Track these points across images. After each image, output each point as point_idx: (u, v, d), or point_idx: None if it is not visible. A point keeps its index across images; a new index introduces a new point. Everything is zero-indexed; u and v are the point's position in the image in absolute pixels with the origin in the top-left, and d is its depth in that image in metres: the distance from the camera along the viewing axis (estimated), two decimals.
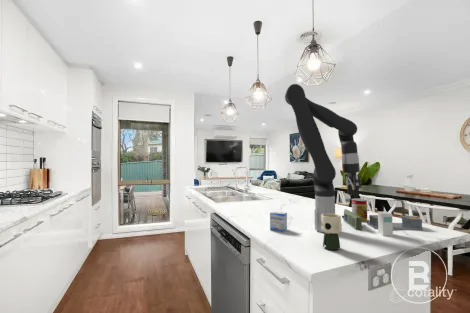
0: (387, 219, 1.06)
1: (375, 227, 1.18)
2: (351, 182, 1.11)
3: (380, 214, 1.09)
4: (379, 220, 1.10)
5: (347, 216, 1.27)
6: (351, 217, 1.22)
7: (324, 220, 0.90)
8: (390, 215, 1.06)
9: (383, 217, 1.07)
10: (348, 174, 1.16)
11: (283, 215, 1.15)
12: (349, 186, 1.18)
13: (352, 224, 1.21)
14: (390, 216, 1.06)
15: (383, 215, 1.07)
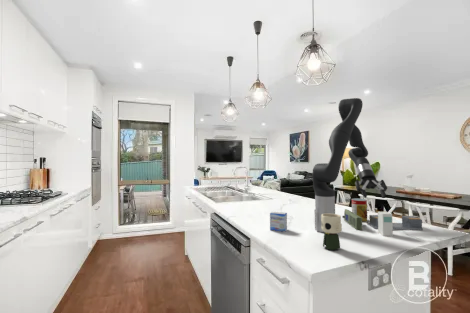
0: (387, 219, 1.06)
1: (375, 227, 1.18)
2: None
3: (380, 214, 1.09)
4: (379, 220, 1.10)
5: (348, 216, 1.27)
6: (351, 217, 1.22)
7: (324, 220, 0.90)
8: (390, 215, 1.06)
9: (383, 217, 1.07)
10: (367, 179, 1.27)
11: (283, 215, 1.15)
12: None
13: (352, 224, 1.21)
14: (390, 215, 1.06)
15: (383, 215, 1.07)
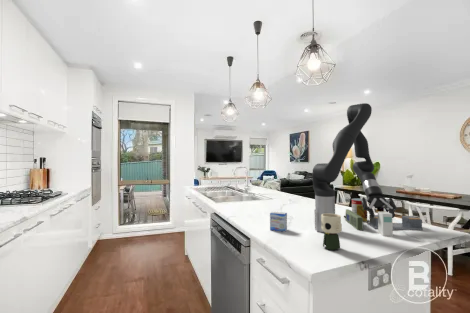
0: (387, 219, 1.06)
1: (375, 227, 1.18)
2: (387, 203, 1.14)
3: (380, 214, 1.09)
4: (379, 220, 1.10)
5: (349, 216, 1.27)
6: (352, 217, 1.22)
7: (324, 220, 0.90)
8: (390, 215, 1.06)
9: (383, 217, 1.07)
10: (374, 197, 1.17)
11: (283, 215, 1.15)
12: None
13: (353, 224, 1.21)
14: (390, 216, 1.06)
15: (383, 215, 1.07)
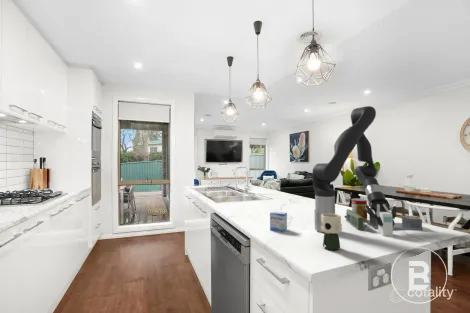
0: (387, 219, 1.06)
1: (375, 227, 1.18)
2: None
3: (380, 214, 1.09)
4: None
5: (350, 216, 1.27)
6: (353, 217, 1.22)
7: (324, 220, 0.90)
8: (390, 215, 1.06)
9: (383, 217, 1.07)
10: (377, 203, 1.14)
11: (283, 215, 1.15)
12: None
13: (354, 224, 1.21)
14: (390, 215, 1.06)
15: (383, 215, 1.07)
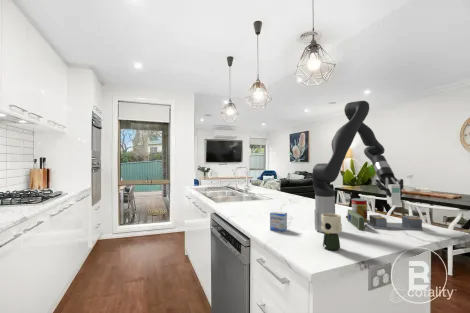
0: (395, 190, 1.17)
1: (375, 227, 1.18)
2: (396, 183, 1.21)
3: (389, 186, 1.20)
4: None
5: (351, 217, 1.27)
6: (354, 217, 1.22)
7: (324, 220, 0.90)
8: (398, 186, 1.17)
9: (392, 188, 1.18)
10: (385, 177, 1.25)
11: (283, 215, 1.15)
12: None
13: (355, 224, 1.20)
14: (398, 187, 1.17)
15: (391, 186, 1.18)
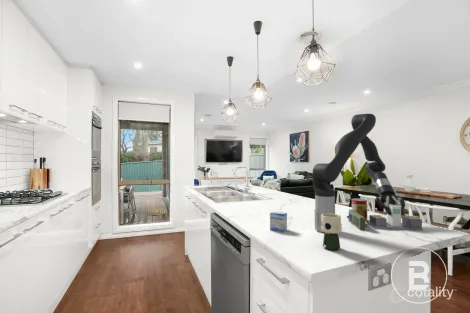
0: (396, 211, 1.18)
1: (375, 227, 1.18)
2: None
3: (390, 207, 1.21)
4: None
5: (352, 217, 1.27)
6: (355, 217, 1.22)
7: (324, 220, 0.90)
8: (399, 207, 1.18)
9: (393, 209, 1.19)
10: (386, 195, 1.26)
11: (283, 215, 1.15)
12: None
13: (356, 224, 1.20)
14: (399, 208, 1.18)
15: (392, 207, 1.19)
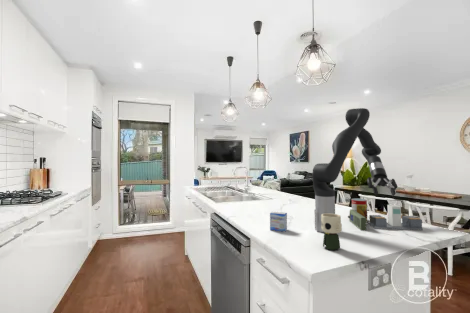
0: (396, 211, 1.18)
1: (375, 227, 1.18)
2: (390, 183, 1.30)
3: (390, 207, 1.21)
4: (389, 212, 1.22)
5: (353, 217, 1.27)
6: (356, 217, 1.22)
7: (324, 220, 0.90)
8: (399, 207, 1.18)
9: (393, 209, 1.19)
10: (379, 177, 1.34)
11: (283, 215, 1.15)
12: None
13: (357, 224, 1.20)
14: (399, 208, 1.18)
15: (392, 207, 1.19)
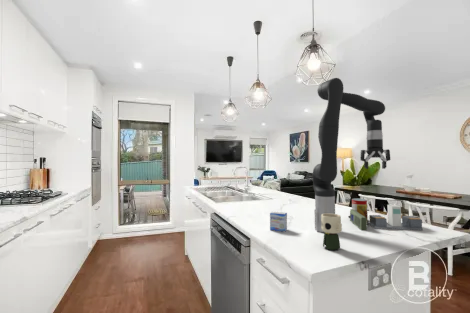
0: (396, 211, 1.18)
1: (375, 227, 1.18)
2: None
3: (390, 207, 1.21)
4: (389, 212, 1.22)
5: (353, 217, 1.27)
6: (357, 217, 1.22)
7: (324, 220, 0.90)
8: (399, 207, 1.18)
9: (393, 209, 1.19)
10: (373, 149, 1.27)
11: (283, 215, 1.15)
12: None
13: (357, 224, 1.20)
14: (399, 208, 1.18)
15: (392, 207, 1.19)
